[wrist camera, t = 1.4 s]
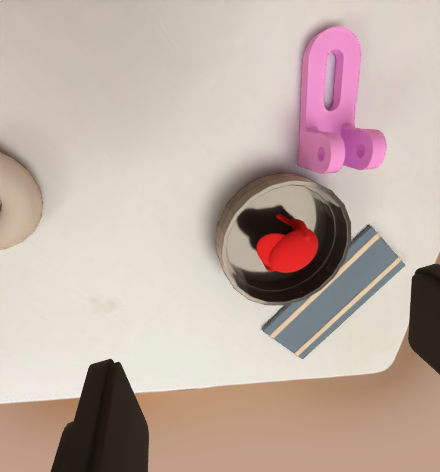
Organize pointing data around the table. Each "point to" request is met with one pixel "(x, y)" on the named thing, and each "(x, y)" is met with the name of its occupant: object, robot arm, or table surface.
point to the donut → (17, 203)
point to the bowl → (265, 222)
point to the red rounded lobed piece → (288, 247)
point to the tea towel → (336, 295)
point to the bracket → (334, 109)
